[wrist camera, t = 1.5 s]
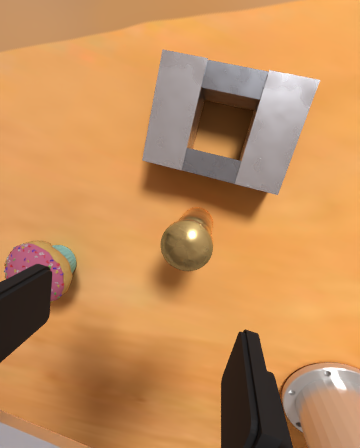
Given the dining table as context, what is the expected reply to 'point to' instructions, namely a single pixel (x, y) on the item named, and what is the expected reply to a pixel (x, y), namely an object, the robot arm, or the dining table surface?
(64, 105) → the dining table surface
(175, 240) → the brass capped cylinder
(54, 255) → the cupcake
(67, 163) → the dining table surface
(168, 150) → the jig
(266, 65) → the dining table surface
